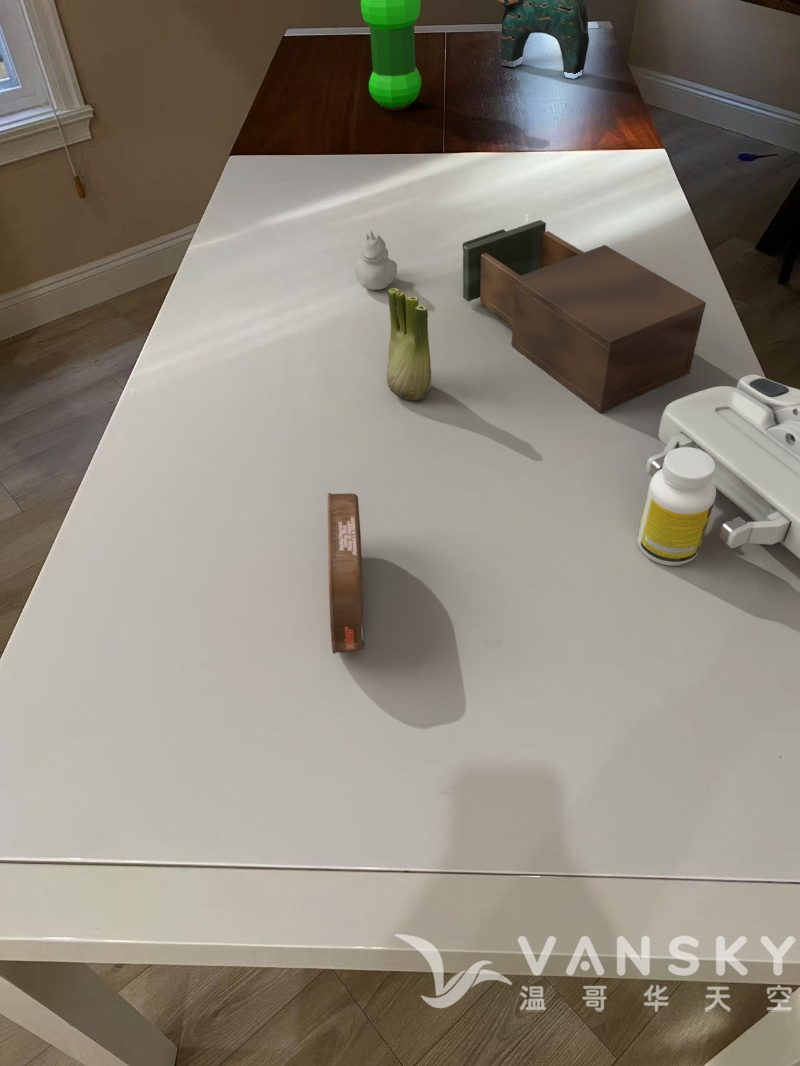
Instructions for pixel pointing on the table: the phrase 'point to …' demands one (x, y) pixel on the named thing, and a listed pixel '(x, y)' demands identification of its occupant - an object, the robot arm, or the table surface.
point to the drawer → (508, 263)
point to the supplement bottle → (678, 507)
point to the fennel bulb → (408, 347)
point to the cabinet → (605, 326)
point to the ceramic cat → (546, 28)
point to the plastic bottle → (393, 51)
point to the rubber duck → (375, 264)
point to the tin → (345, 573)
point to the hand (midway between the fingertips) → (686, 502)
